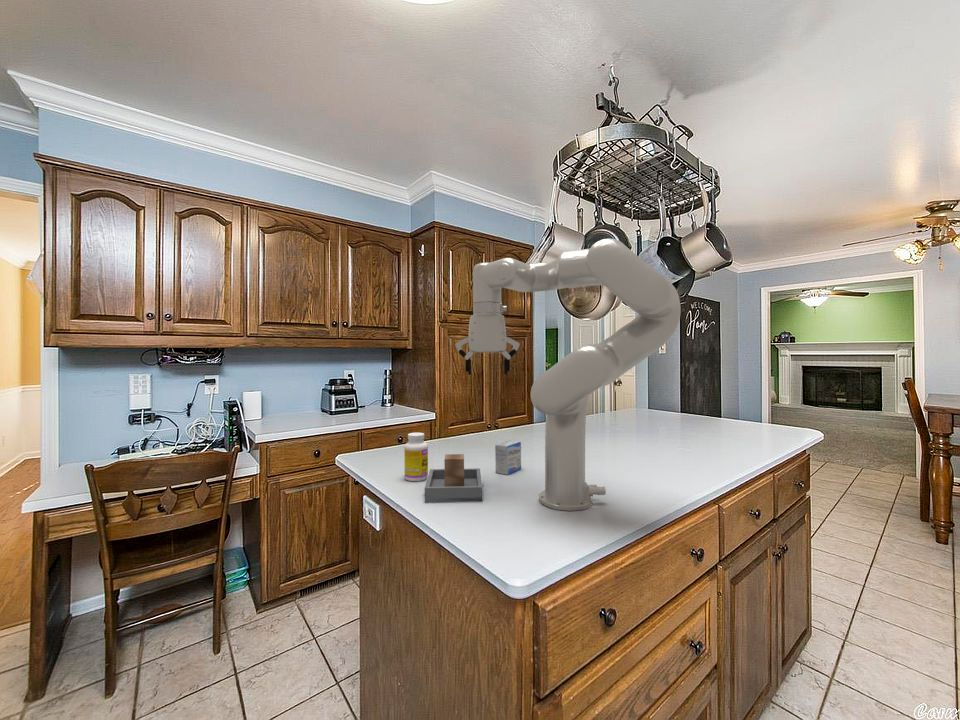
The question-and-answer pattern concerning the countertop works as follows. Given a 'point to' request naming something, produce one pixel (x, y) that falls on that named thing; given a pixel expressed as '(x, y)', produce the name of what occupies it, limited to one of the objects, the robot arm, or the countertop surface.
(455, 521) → the countertop surface
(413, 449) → the supplement bottle
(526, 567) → the countertop surface
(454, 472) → the walnut block
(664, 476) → the countertop surface
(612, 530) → the countertop surface
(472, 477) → the tray
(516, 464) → the medicine box
